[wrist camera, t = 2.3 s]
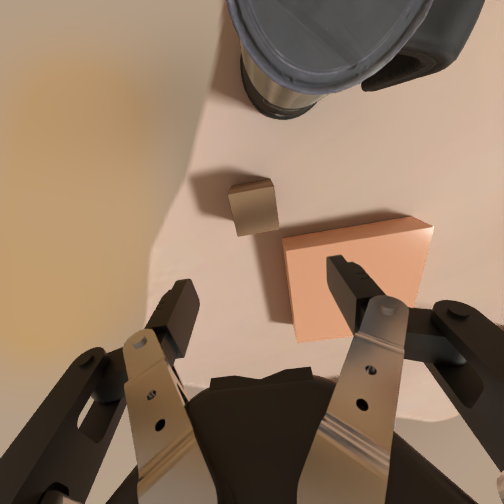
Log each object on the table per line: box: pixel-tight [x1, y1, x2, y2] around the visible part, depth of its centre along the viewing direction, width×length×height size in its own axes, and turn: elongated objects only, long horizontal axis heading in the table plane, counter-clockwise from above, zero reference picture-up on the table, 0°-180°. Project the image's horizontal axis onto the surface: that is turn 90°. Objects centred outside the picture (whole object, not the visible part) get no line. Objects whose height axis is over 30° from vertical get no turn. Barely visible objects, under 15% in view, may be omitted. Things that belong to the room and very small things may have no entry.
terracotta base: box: [282, 216, 434, 343], centre depth 32 cm, size 18×18×4 cm
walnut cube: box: [228, 179, 280, 237], centre depth 25 cm, size 5×5×5 cm
